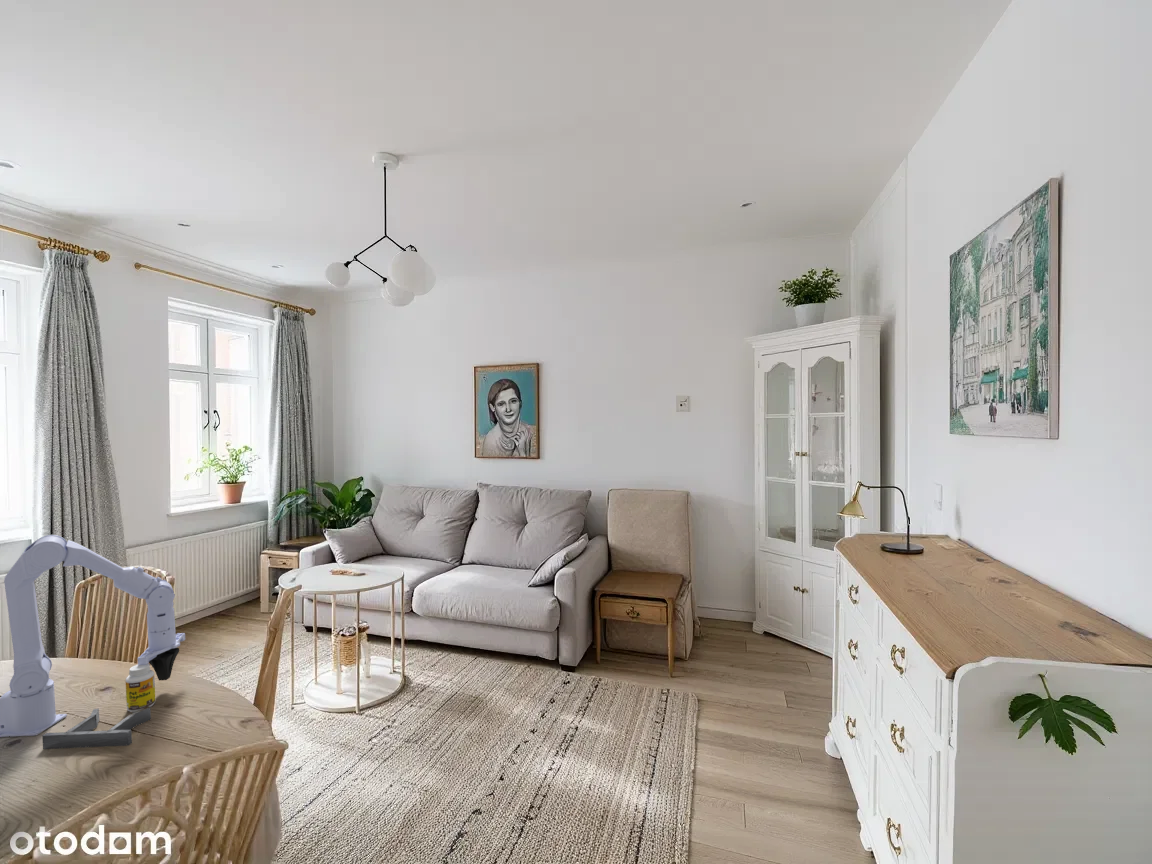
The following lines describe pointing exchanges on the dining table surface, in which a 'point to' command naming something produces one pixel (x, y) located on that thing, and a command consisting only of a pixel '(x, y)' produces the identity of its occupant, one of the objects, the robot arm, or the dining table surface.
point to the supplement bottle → (140, 688)
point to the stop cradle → (97, 732)
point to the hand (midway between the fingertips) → (164, 678)
